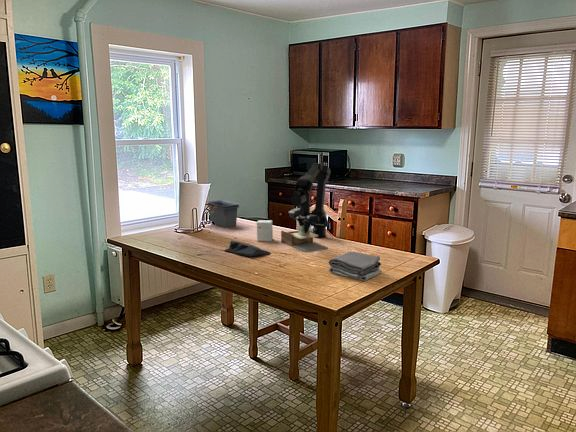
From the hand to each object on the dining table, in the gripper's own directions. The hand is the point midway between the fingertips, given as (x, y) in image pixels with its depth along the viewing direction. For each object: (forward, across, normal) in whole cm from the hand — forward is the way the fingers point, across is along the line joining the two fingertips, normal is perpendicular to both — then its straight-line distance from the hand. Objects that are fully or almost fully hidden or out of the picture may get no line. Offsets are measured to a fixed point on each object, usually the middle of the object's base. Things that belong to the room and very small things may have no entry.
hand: (304, 232), depth 239 cm
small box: (+7, -21, -12) cm, 25 cm away
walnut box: (+7, -7, 0) cm, 10 cm away
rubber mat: (+7, +5, 0) cm, 9 cm away
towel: (+8, +50, -6) cm, 51 cm away
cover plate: (+2, 0, 0) cm, 2 cm away
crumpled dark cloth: (+8, -3, -31) cm, 32 cm away
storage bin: (+7, -69, -17) cm, 71 cm away
